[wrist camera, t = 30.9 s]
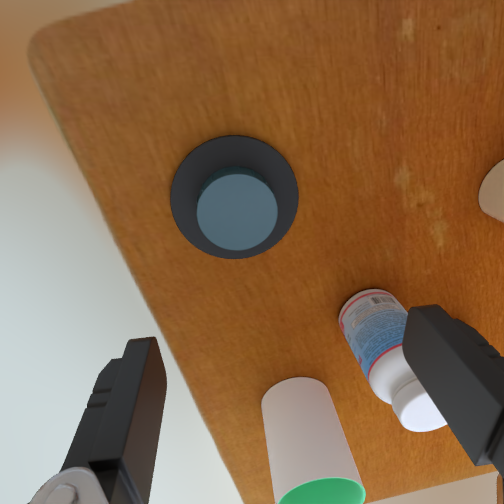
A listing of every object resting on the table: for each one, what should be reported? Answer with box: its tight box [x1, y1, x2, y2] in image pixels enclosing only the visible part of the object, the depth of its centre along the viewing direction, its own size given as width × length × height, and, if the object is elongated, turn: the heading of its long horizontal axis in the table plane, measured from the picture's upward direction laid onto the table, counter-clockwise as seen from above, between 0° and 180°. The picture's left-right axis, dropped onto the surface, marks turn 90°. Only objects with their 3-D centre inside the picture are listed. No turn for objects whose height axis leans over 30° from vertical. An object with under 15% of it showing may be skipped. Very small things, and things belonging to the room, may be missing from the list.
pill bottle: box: [339, 289, 447, 432], centre depth 28 cm, size 6×6×11 cm
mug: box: [261, 377, 366, 504], centre depth 34 cm, size 12×8×10 cm
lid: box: [196, 166, 278, 250], centre depth 25 cm, size 6×6×2 cm
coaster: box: [170, 135, 298, 259], centre depth 26 cm, size 10×10×1 cm
